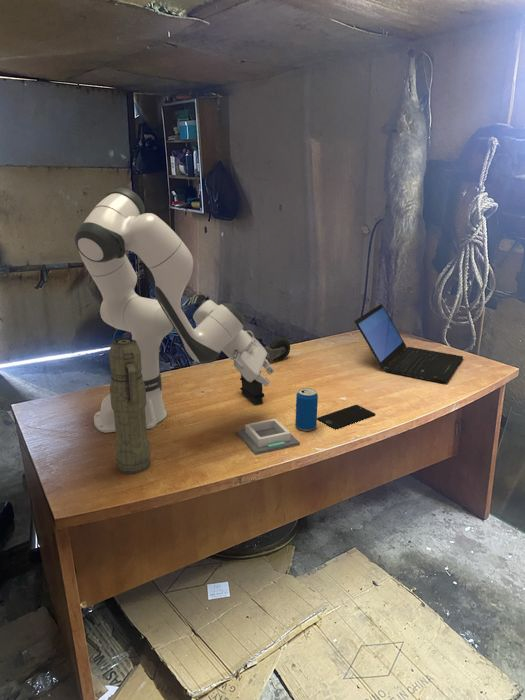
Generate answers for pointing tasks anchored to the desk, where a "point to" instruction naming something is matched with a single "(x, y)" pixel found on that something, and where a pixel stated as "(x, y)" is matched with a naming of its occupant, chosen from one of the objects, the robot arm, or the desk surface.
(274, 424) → the charging dock
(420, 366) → the laptop
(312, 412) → the beverage can
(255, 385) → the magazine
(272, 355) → the caster wheel
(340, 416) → the cell phone
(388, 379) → the desk surface
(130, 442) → the thermos
